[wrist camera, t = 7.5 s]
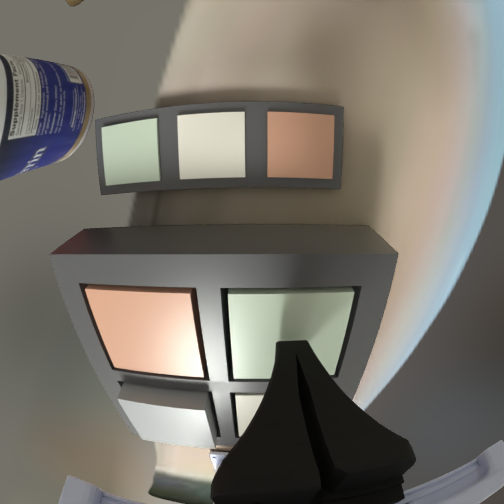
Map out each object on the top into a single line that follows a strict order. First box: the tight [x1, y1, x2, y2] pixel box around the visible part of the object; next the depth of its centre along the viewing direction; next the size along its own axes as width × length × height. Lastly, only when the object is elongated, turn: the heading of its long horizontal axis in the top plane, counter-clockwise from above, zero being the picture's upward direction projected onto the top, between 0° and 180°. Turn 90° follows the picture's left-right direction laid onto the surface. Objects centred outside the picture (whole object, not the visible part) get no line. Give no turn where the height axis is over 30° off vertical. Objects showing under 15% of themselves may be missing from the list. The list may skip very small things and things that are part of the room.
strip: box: [95, 101, 344, 195], centre depth 12 cm, size 12×4×1 cm, turn 90°
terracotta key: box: [85, 284, 207, 377], centre depth 14 cm, size 5×5×3 cm
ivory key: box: [235, 392, 265, 436], centre depth 17 cm, size 5×5×3 cm
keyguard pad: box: [49, 224, 398, 446], centre depth 16 cm, size 16×16×4 cm
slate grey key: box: [117, 382, 218, 449], centre depth 16 cm, size 5×5×3 cm
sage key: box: [228, 286, 354, 379], centre depth 14 cm, size 5×5×3 cm
